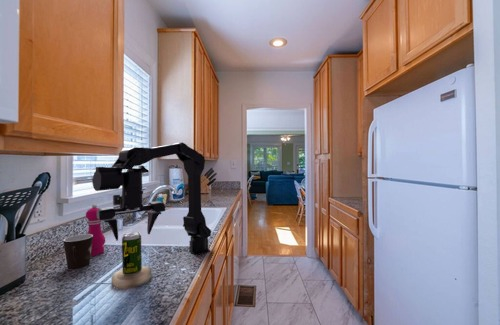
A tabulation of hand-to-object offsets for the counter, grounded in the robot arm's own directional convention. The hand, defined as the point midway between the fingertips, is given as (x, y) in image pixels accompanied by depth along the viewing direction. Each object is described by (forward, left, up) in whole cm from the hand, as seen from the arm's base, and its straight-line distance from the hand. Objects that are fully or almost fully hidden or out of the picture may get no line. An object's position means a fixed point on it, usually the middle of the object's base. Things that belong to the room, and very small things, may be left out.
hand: (133, 237), depth 75 cm
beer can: (+1, +1, -11) cm, 11 cm away
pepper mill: (+7, -34, -13) cm, 37 cm away
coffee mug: (+14, -22, -13) cm, 29 cm away
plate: (+1, +1, -13) cm, 13 cm away
